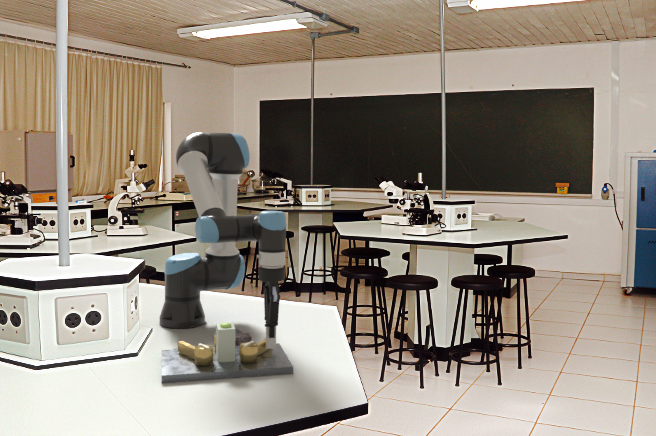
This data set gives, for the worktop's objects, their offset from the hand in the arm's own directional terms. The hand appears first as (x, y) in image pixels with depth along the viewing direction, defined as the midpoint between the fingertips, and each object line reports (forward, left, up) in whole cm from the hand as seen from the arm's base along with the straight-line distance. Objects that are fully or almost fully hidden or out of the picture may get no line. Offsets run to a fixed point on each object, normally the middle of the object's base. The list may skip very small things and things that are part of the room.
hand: (270, 347), depth 172 cm
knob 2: (+1, -4, -1) cm, 4 cm away
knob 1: (+1, -21, -1) cm, 21 cm away
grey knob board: (+2, -13, -4) cm, 14 cm away
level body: (+2, -13, -2) cm, 13 cm away
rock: (-15, -10, -4) cm, 19 cm away
